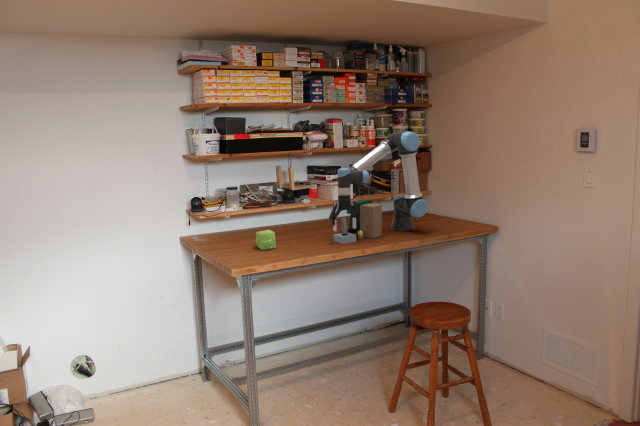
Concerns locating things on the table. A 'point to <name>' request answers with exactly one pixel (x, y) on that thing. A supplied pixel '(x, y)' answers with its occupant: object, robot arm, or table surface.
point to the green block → (265, 239)
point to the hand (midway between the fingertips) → (344, 229)
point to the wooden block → (371, 220)
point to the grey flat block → (344, 238)
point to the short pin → (360, 234)
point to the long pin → (344, 226)
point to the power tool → (358, 203)
